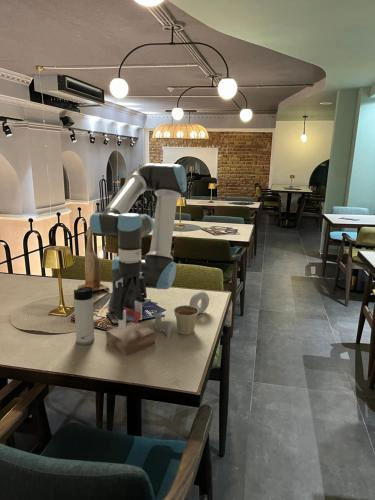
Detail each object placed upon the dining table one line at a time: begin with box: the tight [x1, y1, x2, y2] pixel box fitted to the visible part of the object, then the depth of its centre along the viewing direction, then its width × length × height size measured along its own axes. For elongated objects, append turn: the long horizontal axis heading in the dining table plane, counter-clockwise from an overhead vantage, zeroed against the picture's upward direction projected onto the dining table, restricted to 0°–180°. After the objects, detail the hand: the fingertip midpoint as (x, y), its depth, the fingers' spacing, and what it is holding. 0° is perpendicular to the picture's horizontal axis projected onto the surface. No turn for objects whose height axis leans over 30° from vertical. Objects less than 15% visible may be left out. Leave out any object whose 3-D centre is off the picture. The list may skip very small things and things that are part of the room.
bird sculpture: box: [77, 226, 110, 292], centre depth 175 cm, size 11×12×32 cm
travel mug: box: [73, 287, 95, 346], centre depth 128 cm, size 6×7×20 cm
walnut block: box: [105, 321, 156, 357], centre depth 130 cm, size 12×12×5 cm
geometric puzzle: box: [124, 305, 141, 326], centre depth 128 cm, size 7×7×8 cm
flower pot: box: [173, 305, 199, 336], centre depth 139 cm, size 9×9×9 cm
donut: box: [188, 290, 210, 315], centre depth 155 cm, size 10×4×10 cm, turn 129°
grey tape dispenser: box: [153, 313, 172, 337], centre depth 139 cm, size 6×1×10 cm
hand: (130, 323), depth 128 cm, fingers closed on geometric puzzle, 8 cm apart
